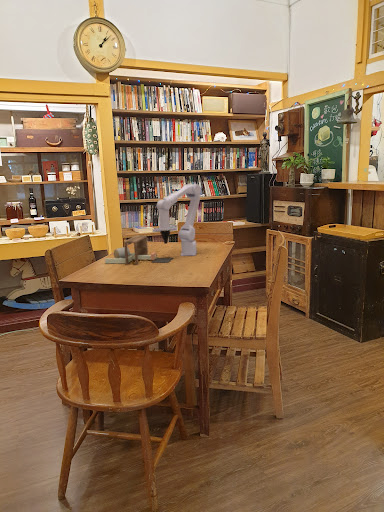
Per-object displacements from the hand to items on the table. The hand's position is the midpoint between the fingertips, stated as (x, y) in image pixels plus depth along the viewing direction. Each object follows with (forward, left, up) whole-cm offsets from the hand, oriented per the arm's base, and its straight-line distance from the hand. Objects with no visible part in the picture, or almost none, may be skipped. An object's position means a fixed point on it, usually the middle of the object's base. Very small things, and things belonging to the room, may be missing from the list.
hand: (165, 243), depth 217 cm
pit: (+2, +3, -10) cm, 10 cm away
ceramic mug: (+27, +1, -10) cm, 28 cm away
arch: (+17, +3, -10) cm, 20 cm away
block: (+20, +3, -9) cm, 22 cm away
